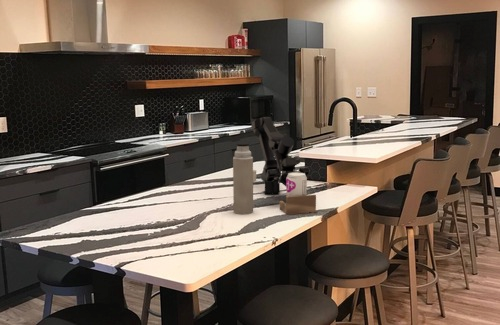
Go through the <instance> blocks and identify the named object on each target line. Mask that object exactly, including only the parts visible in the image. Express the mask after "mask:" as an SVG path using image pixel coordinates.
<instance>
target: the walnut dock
mask: <svg viewBox="0 0 500 325" xmlns="http://www.w3.org/2000/svg"><path fill="white" fill-rule="evenodd" d="M279 210H280V211H281V212H283V213H284V214H285V215H286V216H287V215H289V216H290V215H299V214H300V213H301V214H310V213H309V212H312V213H316V212H317V195H316V194H307V195H303V196H291V197H286V196H285V202H284V201H283V200H280V201H279Z"/></svg>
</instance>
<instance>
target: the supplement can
mask: <svg viewBox="0 0 500 325" xmlns="http://www.w3.org/2000/svg"><path fill="white" fill-rule="evenodd" d="M307 179H308V178H307V177H306V175H305V173H298V172H294V173H288V176H287V178H286V186H285V188H286V190H285V192H286V194H285V195H286V196H285V198H286V197H291V196H303V195H308V193H307V192H308V191H307V190H308V188H307V187H308V186H307V185H308V180H307Z"/></svg>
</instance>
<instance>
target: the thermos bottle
mask: <svg viewBox="0 0 500 325" xmlns="http://www.w3.org/2000/svg"><path fill="white" fill-rule="evenodd" d="M253 170H254V157H253V156H252V151H250V143H248V142H238V143H236V150H235V151H234V156H233V158H232V178H233V179H232V181H233V184H232V185H233V187H232V188H233V190H232V191H233V194H232V196H233V213H234V214H238V215H249V214H252V213H254V182H253Z"/></svg>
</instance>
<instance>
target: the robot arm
mask: <svg viewBox="0 0 500 325" xmlns="http://www.w3.org/2000/svg"><path fill="white" fill-rule="evenodd" d="M251 130H253V135H255V136H256V137H258V140H259V143H260V148H261V151H262V155H263V160H264V166H263V170H262V172H261V174H260V178H261V179H260V180H261V181H262V182H264V195H266V196H267V195H268V196H271V195H273V196H274V195H275V196H276V195H279V194H280V191H281V190H280V183H281V184H282V185H284V186H285V187H286V178H287V176H288V173H294V172H298V173H305V175H306V177H307V179H308V178H309V176H310V173H311V169H310V168H309V167H299V169H298V170H295V169H296V166H297V165H299V164H301V158H300V156H299V155H295V156H294V157H290V155H289V154H290V153H291V152H292V149H293V148H294V144H295V140H294V139H293V137H291V136H289V135H288V134H283V133H280V132H279V130H278V129H277V127H276V126H275V123H274V122H273V119H272V117H270V116H263V117H260V118H258V119H254V120H253V121H252V122H251Z"/></svg>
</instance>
